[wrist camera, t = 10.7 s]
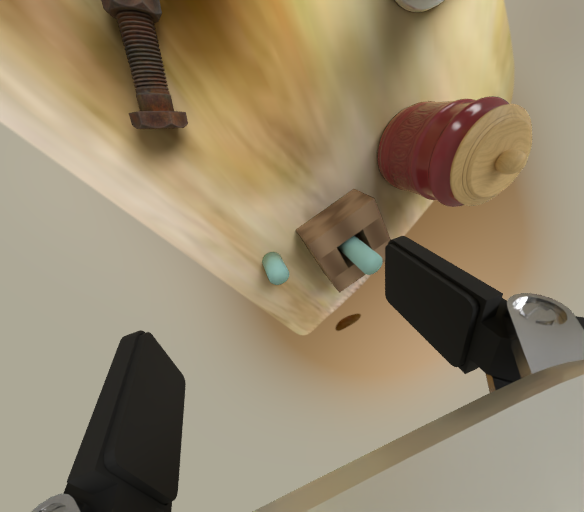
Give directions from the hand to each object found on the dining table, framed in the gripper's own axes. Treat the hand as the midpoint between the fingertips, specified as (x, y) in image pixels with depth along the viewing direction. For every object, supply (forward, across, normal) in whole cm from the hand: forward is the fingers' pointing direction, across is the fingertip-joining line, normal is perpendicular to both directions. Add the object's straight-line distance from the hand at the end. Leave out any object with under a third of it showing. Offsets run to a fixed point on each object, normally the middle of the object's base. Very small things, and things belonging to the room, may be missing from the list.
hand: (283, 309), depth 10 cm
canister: (+30, -30, +4) cm, 43 cm away
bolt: (+30, +4, -14) cm, 34 cm away
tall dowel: (+30, -15, +16) cm, 37 cm away
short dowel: (+30, -2, +16) cm, 34 cm away
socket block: (+30, -16, +16) cm, 37 cm away
